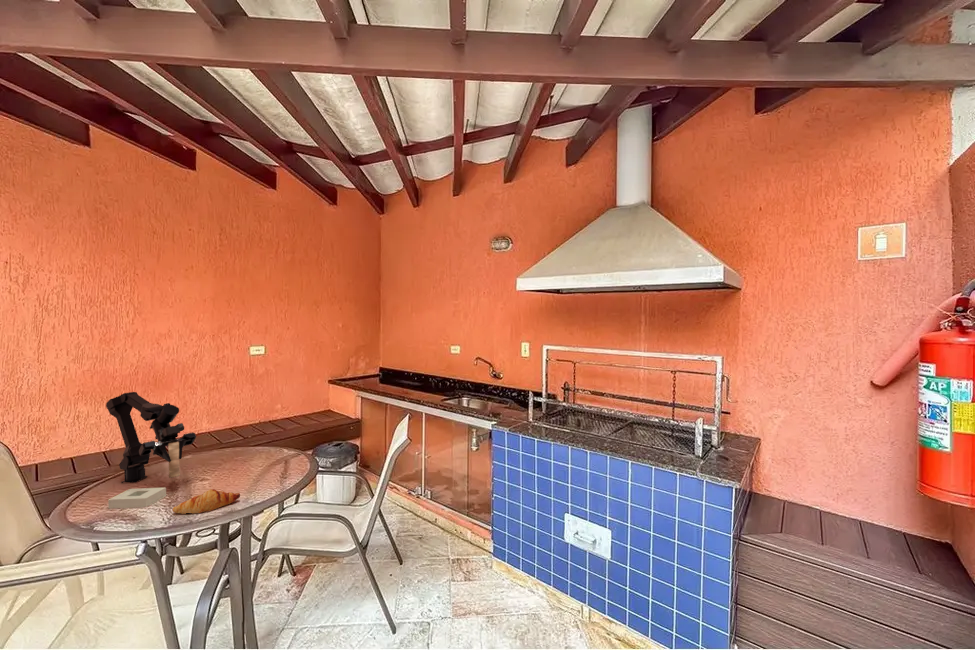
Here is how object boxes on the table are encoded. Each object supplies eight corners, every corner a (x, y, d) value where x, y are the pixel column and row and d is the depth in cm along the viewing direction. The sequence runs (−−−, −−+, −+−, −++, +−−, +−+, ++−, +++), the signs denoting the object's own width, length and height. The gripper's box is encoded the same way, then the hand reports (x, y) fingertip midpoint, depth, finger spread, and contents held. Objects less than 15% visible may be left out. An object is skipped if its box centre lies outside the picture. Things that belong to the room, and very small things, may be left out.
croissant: (171, 527, 144) (168, 512, 141) (175, 505, 152) (172, 490, 148) (240, 511, 155) (239, 496, 151) (240, 490, 162) (239, 476, 159)
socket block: (108, 508, 152) (108, 499, 152) (130, 497, 162) (130, 488, 162) (146, 507, 153) (146, 498, 153) (166, 496, 163) (166, 487, 163)
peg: (166, 477, 166) (166, 444, 166) (172, 474, 169) (172, 441, 169) (175, 477, 166) (175, 444, 166) (181, 474, 169) (181, 441, 169)
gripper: (141, 423, 161) (153, 455, 156) (194, 414, 177) (206, 442, 172) (133, 440, 165) (145, 471, 160) (185, 429, 181) (198, 457, 176)
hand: (175, 459), depth 167 cm, fingers closed on peg, 3 cm apart
